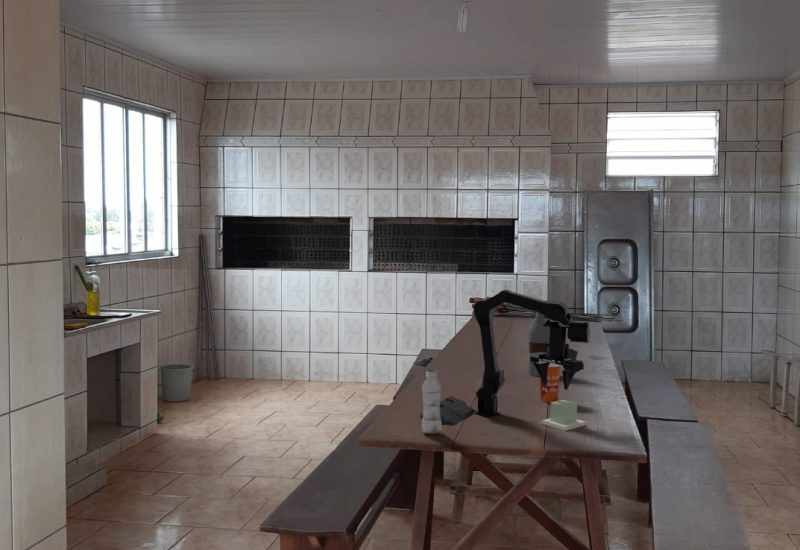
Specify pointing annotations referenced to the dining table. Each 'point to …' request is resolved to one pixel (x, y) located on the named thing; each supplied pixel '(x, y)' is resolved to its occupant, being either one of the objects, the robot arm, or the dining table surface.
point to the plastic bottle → (431, 403)
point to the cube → (563, 412)
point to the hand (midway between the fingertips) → (555, 386)
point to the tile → (563, 426)
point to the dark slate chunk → (453, 411)
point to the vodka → (537, 340)
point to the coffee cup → (550, 384)
